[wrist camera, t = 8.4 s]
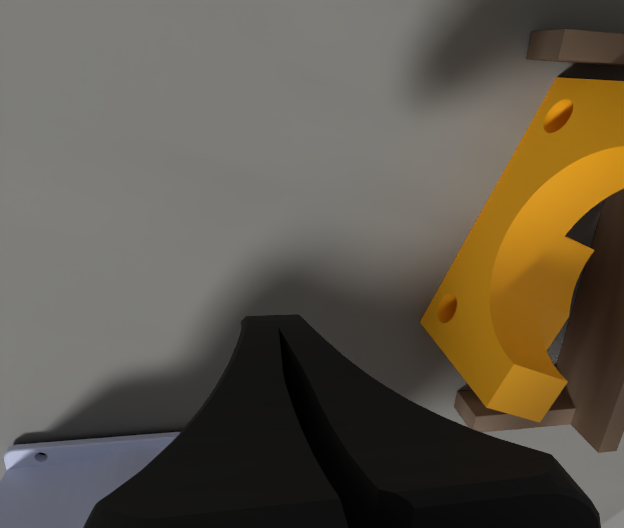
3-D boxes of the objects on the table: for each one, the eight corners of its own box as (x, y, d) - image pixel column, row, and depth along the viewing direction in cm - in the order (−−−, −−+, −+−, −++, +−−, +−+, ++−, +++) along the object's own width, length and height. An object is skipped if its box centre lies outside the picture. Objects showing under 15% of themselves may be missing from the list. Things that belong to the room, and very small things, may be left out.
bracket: (454, 406, 26) (493, 463, 22) (531, 31, 19) (606, 25, 15) (562, 398, 27) (616, 450, 24) (671, 43, 20) (770, 40, 17)
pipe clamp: (489, 344, 25) (573, 432, 19) (418, 320, 24) (486, 407, 18) (627, 119, 22) (781, 143, 16) (554, 77, 20) (693, 85, 14)
